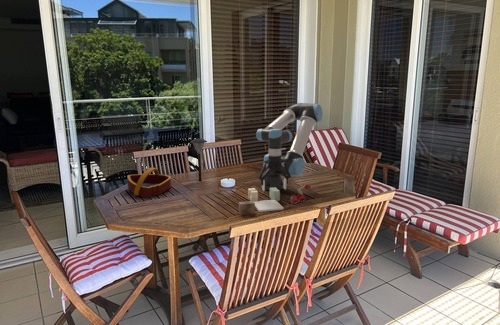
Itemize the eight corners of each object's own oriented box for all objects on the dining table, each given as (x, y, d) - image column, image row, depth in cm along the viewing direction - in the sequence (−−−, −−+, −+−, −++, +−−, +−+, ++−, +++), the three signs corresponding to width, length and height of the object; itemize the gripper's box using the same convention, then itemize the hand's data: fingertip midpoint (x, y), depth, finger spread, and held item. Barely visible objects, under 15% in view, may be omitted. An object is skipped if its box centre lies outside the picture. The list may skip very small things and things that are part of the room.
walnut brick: (240, 215, 198) (240, 204, 196) (238, 212, 201) (238, 202, 200) (254, 213, 200) (254, 203, 198) (252, 211, 203) (252, 200, 202)
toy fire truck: (289, 203, 216) (289, 187, 213) (306, 198, 224) (306, 183, 221) (293, 204, 213) (293, 188, 211) (310, 200, 221) (310, 184, 219)
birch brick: (248, 197, 226) (248, 188, 224) (254, 197, 227) (254, 188, 225) (251, 202, 218) (251, 192, 217) (257, 201, 219) (257, 191, 218)
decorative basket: (156, 202, 226) (159, 179, 222) (113, 193, 230) (115, 170, 227) (178, 187, 258) (180, 167, 255) (139, 179, 263) (141, 159, 259)
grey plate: (252, 203, 216) (252, 201, 216) (275, 201, 219) (275, 199, 219) (259, 211, 202) (259, 210, 201) (283, 209, 205) (283, 207, 205)
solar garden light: (210, 181, 261) (209, 140, 254) (193, 183, 257) (191, 141, 250) (206, 177, 272) (204, 137, 266) (189, 179, 268) (188, 138, 261)
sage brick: (269, 197, 227) (269, 187, 226) (275, 196, 228) (275, 187, 227) (273, 201, 219) (273, 191, 218) (279, 200, 220) (279, 191, 219)
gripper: (256, 157, 211) (255, 192, 215) (296, 155, 217) (295, 190, 221) (252, 154, 218) (252, 189, 223) (292, 153, 224) (291, 186, 229)
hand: (274, 189), depth 222 cm, fingers open, 13 cm apart
